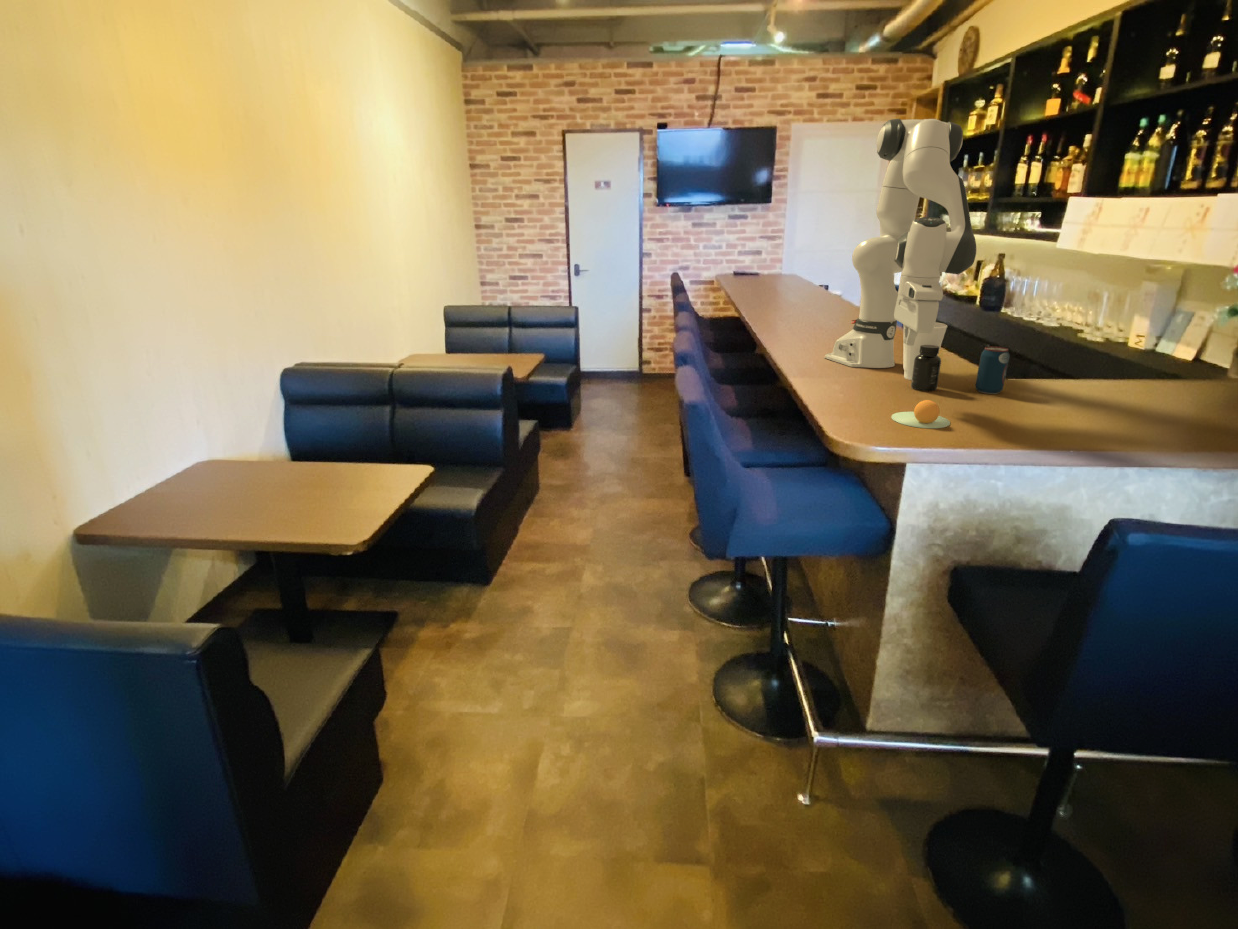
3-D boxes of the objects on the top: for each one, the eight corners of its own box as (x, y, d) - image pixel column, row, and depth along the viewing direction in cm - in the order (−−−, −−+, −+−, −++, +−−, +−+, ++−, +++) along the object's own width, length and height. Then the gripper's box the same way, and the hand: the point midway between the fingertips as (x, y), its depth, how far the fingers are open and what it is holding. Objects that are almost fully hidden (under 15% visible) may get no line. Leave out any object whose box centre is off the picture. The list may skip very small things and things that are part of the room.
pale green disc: (879, 417, 168) (879, 416, 168) (914, 409, 175) (914, 408, 175) (926, 431, 158) (926, 430, 158) (961, 423, 164) (961, 422, 164)
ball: (906, 417, 166) (913, 401, 162) (922, 408, 168) (930, 391, 163) (923, 431, 163) (931, 415, 159) (940, 422, 165) (948, 406, 160)
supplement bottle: (932, 386, 197) (939, 344, 193) (940, 392, 191) (947, 348, 187) (907, 385, 198) (913, 343, 194) (914, 391, 192) (921, 348, 187)
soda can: (1007, 394, 189) (1016, 351, 184) (981, 394, 189) (989, 350, 185) (994, 388, 195) (1003, 345, 191) (969, 388, 195) (977, 345, 191)
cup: (886, 375, 210) (894, 321, 204) (919, 372, 213) (927, 319, 207) (913, 384, 199) (922, 328, 193) (947, 381, 202) (957, 326, 197)
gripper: (892, 282, 180) (884, 335, 185) (918, 293, 161) (907, 352, 166) (917, 283, 179) (908, 336, 184) (946, 294, 160) (935, 353, 165)
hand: (908, 344), depth 175 cm, fingers closed
